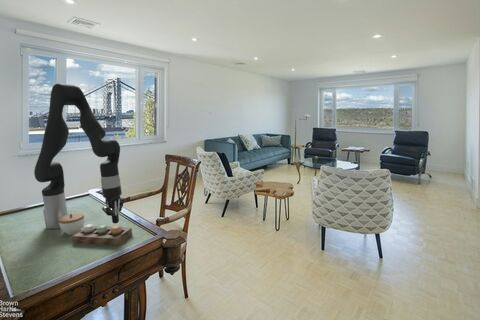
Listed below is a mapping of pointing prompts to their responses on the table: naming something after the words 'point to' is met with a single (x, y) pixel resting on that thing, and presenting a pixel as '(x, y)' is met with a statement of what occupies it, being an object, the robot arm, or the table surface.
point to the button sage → (102, 229)
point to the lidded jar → (71, 223)
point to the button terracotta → (116, 230)
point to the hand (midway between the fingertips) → (115, 222)
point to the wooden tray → (102, 237)
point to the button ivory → (88, 228)
